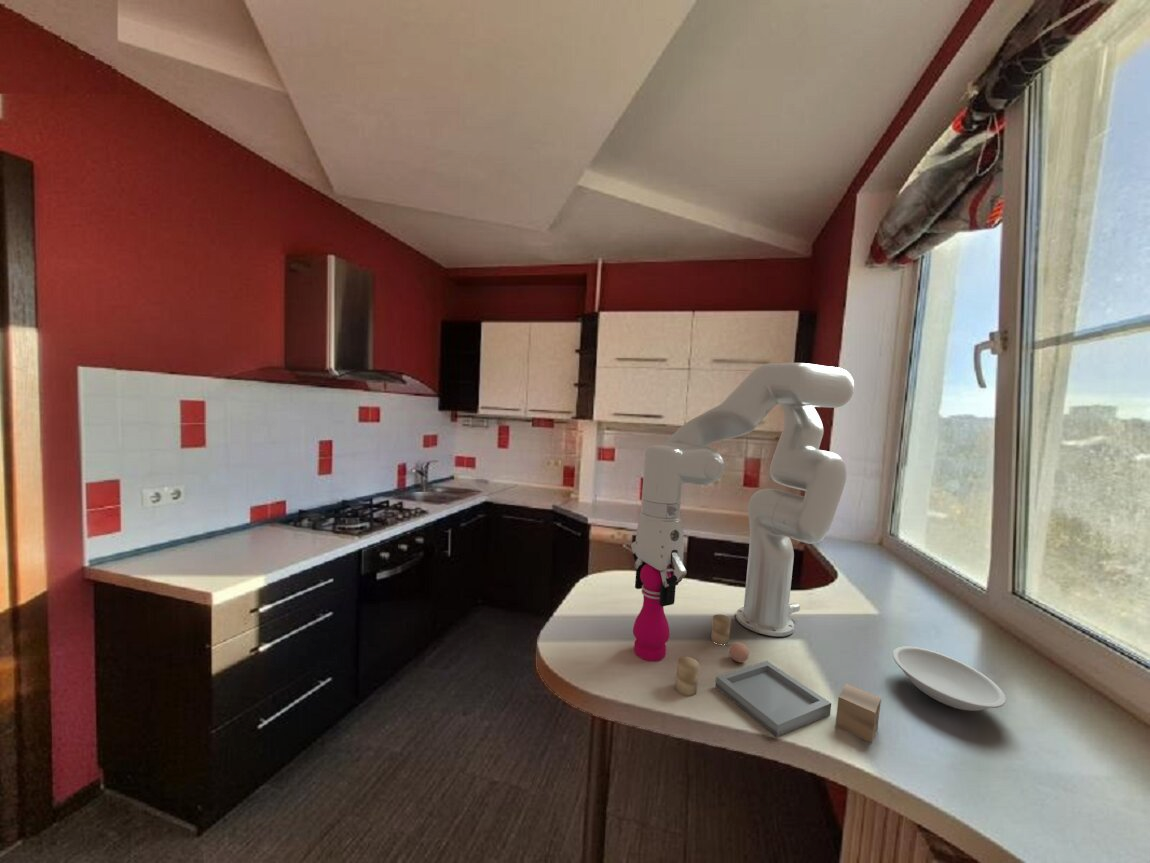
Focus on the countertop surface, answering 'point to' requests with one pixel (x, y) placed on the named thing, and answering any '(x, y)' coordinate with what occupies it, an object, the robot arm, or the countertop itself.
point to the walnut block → (858, 712)
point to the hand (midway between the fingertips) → (653, 595)
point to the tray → (773, 697)
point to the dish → (948, 679)
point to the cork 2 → (720, 629)
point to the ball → (739, 652)
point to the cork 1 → (686, 676)
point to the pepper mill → (651, 618)
